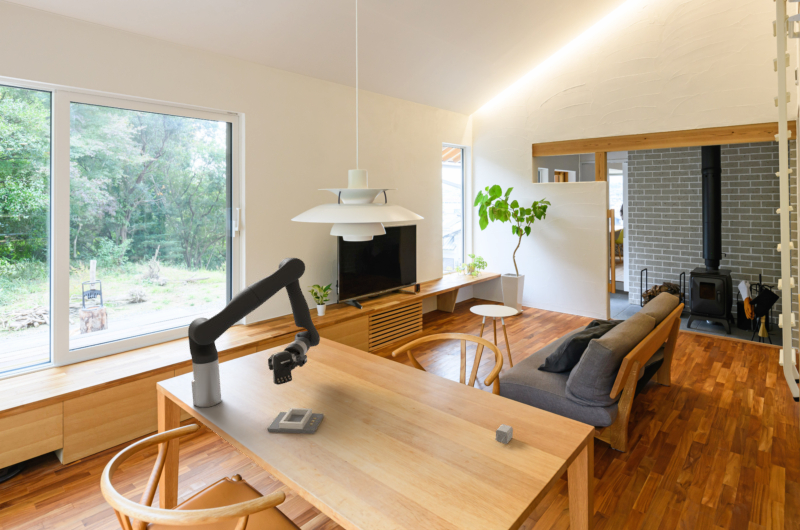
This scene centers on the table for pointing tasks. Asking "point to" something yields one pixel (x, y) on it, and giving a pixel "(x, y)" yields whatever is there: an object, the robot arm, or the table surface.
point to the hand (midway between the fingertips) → (280, 367)
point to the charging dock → (296, 421)
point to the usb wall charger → (504, 434)
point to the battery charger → (281, 367)
